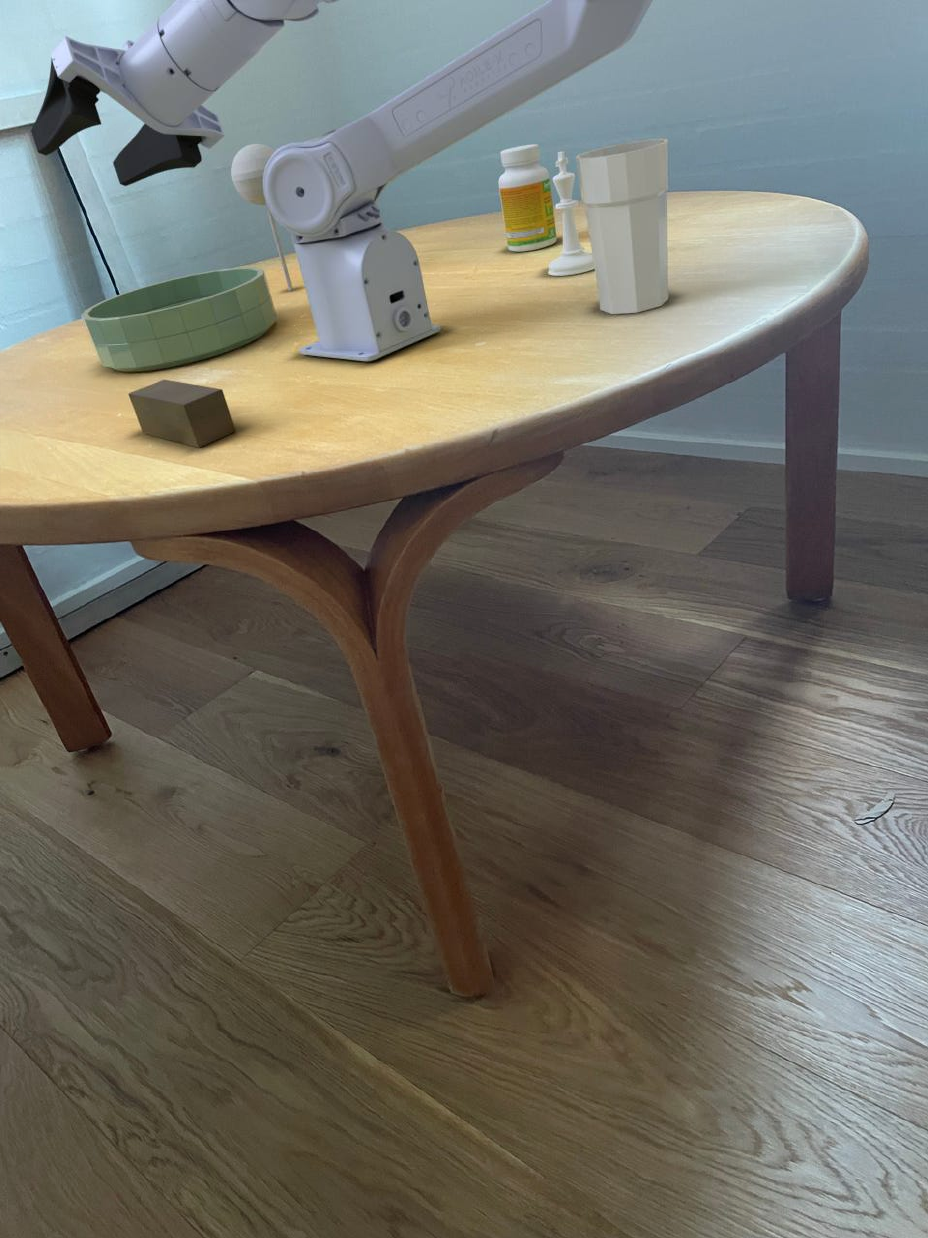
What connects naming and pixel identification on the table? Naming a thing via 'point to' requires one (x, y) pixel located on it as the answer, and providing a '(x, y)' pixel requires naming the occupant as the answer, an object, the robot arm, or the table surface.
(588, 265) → the chess piece
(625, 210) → the cup
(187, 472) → the table surface
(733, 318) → the table surface
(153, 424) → the block
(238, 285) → the bowl
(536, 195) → the supplement bottle
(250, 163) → the lollipop
